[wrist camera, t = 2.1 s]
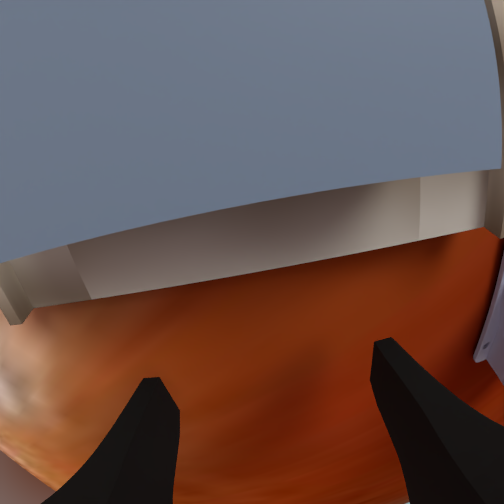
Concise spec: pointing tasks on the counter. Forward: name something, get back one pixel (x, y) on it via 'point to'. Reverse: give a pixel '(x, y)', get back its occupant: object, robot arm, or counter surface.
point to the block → (229, 106)
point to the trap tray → (262, 232)
